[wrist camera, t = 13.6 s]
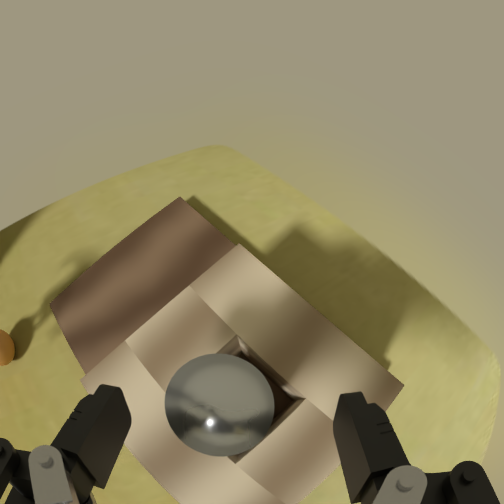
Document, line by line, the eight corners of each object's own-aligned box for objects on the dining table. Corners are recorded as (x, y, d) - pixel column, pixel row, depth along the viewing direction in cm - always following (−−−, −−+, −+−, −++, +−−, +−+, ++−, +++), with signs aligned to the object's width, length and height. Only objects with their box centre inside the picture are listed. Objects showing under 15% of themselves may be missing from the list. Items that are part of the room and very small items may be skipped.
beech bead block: (119, 389, 19) (79, 380, 14) (243, 281, 24) (239, 243, 19) (241, 514, 14) (235, 547, 9) (369, 392, 19) (404, 385, 14)
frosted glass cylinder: (208, 400, 19) (144, 397, 8) (241, 371, 20) (220, 331, 9) (240, 432, 18) (217, 476, 7) (273, 402, 19) (297, 405, 8)
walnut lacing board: (57, 309, 24) (49, 304, 23) (182, 205, 30) (179, 196, 29) (230, 525, 14) (229, 532, 13) (382, 380, 21) (389, 378, 19)
